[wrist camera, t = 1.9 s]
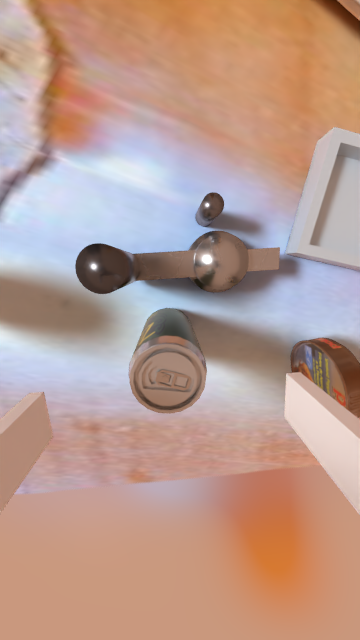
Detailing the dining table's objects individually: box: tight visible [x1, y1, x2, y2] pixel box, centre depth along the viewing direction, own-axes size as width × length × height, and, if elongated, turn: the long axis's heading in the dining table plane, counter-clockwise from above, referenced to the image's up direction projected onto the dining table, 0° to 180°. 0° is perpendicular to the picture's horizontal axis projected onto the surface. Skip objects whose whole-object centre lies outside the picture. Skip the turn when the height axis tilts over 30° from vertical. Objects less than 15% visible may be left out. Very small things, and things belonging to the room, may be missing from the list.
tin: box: [291, 338, 360, 461], centre depth 25 cm, size 15×3×8 cm, turn 11°
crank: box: [76, 233, 280, 294], centre depth 18 cm, size 16×5×9 cm, turn 93°
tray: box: [285, 127, 360, 271], centre depth 23 cm, size 11×11×2 cm
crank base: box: [188, 193, 232, 292], centre depth 24 cm, size 19×6×5 cm, turn 168°
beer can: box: [129, 308, 207, 413], centre depth 21 cm, size 5×5×12 cm
